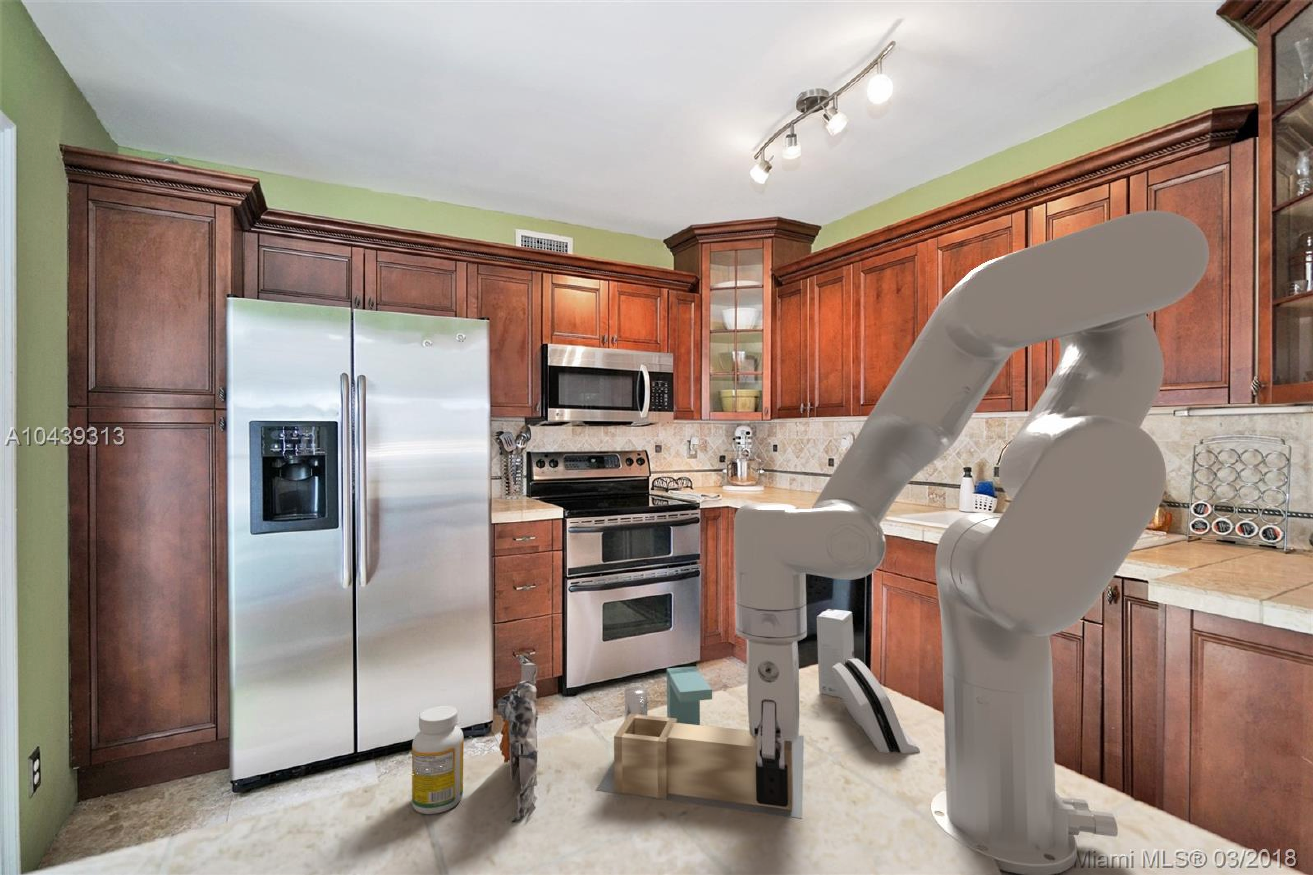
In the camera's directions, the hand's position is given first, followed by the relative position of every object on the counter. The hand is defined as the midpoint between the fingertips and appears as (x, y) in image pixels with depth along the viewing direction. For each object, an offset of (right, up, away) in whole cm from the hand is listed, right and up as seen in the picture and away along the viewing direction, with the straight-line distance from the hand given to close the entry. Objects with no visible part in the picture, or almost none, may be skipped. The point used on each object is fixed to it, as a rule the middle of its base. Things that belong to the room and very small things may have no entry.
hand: (773, 790), depth 64 cm
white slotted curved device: (+17, -3, +17) cm, 24 cm away
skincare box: (+16, -3, +32) cm, 36 cm away
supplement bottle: (-37, -3, +2) cm, 37 cm away
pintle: (-15, -1, +10) cm, 18 cm away
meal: (-28, -3, +3) cm, 28 cm away
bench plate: (-6, -2, +8) cm, 10 cm away
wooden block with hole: (-7, -1, +2) cm, 7 cm away
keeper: (-8, -1, +13) cm, 15 cm away
